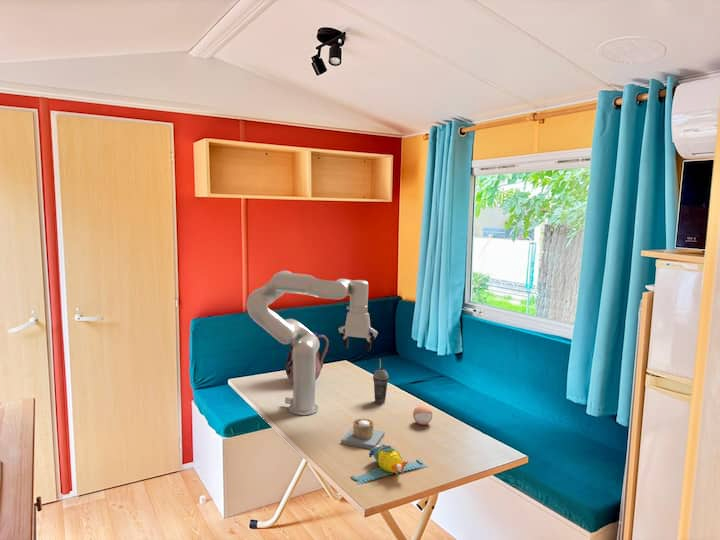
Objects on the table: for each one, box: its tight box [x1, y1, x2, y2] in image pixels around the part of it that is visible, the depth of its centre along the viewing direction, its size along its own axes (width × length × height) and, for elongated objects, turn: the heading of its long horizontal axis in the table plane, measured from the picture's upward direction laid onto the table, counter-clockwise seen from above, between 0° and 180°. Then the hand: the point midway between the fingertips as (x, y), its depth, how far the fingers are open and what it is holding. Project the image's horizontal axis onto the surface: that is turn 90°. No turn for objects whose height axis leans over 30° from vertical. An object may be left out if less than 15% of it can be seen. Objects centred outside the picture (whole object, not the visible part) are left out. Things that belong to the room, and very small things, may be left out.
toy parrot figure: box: [349, 443, 429, 486], centre depth 168 cm, size 28×9×15 cm
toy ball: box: [412, 404, 433, 426], centre depth 206 cm, size 8×8×8 cm
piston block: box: [341, 420, 385, 450], centre depth 190 cm, size 13×13×6 cm
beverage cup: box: [372, 358, 390, 405], centre depth 228 cm, size 7×7×20 cm
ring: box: [352, 418, 374, 440], centre depth 190 cm, size 7×7×5 cm
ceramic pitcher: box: [285, 331, 330, 383], centre depth 251 cm, size 18×21×25 cm
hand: (357, 349), depth 212 cm, fingers open, 9 cm apart
